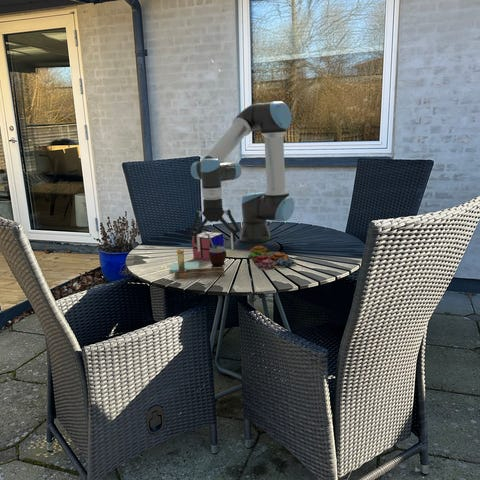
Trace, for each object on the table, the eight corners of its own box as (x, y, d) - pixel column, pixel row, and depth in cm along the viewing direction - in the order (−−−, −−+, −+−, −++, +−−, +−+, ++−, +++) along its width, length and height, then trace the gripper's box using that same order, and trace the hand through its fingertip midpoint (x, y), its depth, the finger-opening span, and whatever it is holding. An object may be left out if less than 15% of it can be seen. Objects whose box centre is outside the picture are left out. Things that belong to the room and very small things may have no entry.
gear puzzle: (241, 252, 206) (241, 243, 205) (275, 248, 210) (275, 239, 209) (260, 272, 177) (260, 262, 176) (299, 267, 180) (299, 257, 179)
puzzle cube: (211, 261, 193) (210, 238, 191) (193, 258, 199) (191, 236, 196) (224, 255, 202) (223, 233, 199) (206, 252, 207) (205, 231, 204)
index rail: (224, 271, 177) (223, 266, 177) (224, 276, 173) (223, 270, 172) (176, 274, 177) (176, 269, 177) (174, 278, 172) (174, 273, 172)
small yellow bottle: (187, 272, 176) (185, 249, 174) (187, 274, 173) (185, 251, 171) (177, 272, 176) (175, 249, 174) (176, 275, 173) (174, 251, 171)
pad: (199, 264, 189) (199, 261, 189) (197, 271, 180) (197, 268, 179) (173, 265, 189) (172, 263, 189) (170, 273, 180) (169, 270, 179)
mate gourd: (230, 265, 185) (228, 230, 181) (213, 270, 180) (211, 233, 177) (220, 262, 191) (217, 227, 187) (204, 266, 186) (201, 230, 183)
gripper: (179, 201, 175) (184, 254, 180) (244, 198, 175) (246, 251, 180) (181, 198, 182) (185, 249, 187) (243, 195, 183) (246, 246, 188)
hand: (215, 250), depth 184 cm, fingers open, 13 cm apart
